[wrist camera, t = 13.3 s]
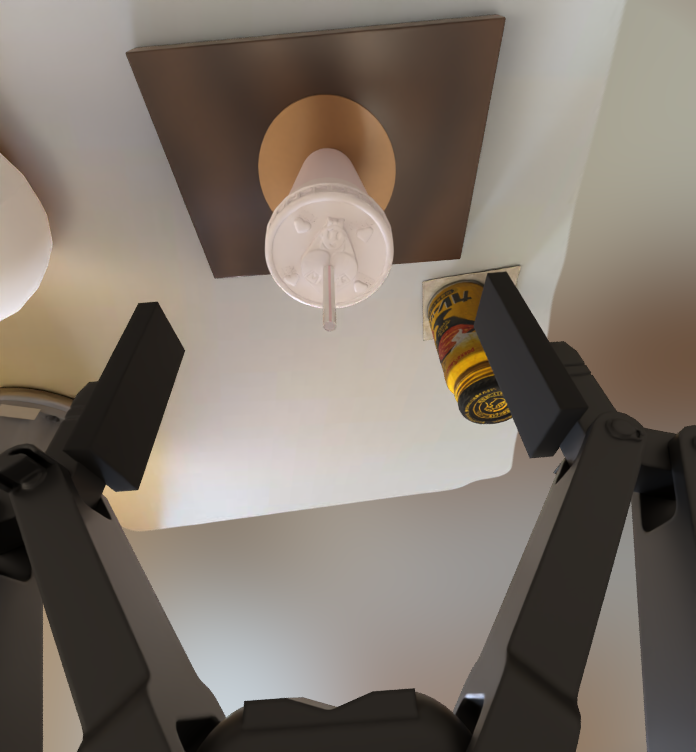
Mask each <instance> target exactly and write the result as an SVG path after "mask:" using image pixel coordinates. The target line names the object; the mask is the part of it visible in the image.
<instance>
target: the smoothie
mask: <svg viewBox="0 0 696 752" xmlns="http://www.w3.org/2000/svg"><path fill="white" fill-rule="evenodd" d="M393 255H394V247H393V237H392V231H391V225H390V223H389V221H388V219H387V217H386V215H385V213H384V211H383V210H382V208H381V207H380V206H379V205H378V204H377V203H376V202H375V201H374V199H373V198H371V197H370V196H368V194H367V192H366V190H365V188H364V186H363V184H362V182H361V180H360V178H359V176H358V174H357V172H356V170H355V168H354V166H353V164H352V162H351V161H350V160H349V158H348V157H347V156H346V155H345V154H343V153H342V152H340V151H338V150H336V149H331V148H323V149H319V150H317V151H315V152H313V153H312V154H310V155H309V156H308V157H307V158H306V160H305V161H304V163H303V165H302V167H301V169H300V172H299V174H298V176H297V178H296V180H295V182H294V184H293V187H292V189H291V191H290V193H289V195H288V196H287V197H286V198H285V199H284V200H283V201H282V202H281V203H280V204H279V205H278V206H277V208H276V209H275V210H274V212H273V214H272V216H271V218H270V220H269V223H268V225H267V231H266V238H265V257H266V262H267V266H268V269H269V271H270V273H271V275H272V277H273V279H274V280H275V282H276V283H277V284H278V286H279V287H280V288H281V289H282V290H283V291H284V292H285V293H287V294H288V295H289V296H291V297H292V298H294V299H295V300H297V301H299V302H301V303H304V304H306V305H309V306H313V307H317V308H323V328H324V329H325V330H326V331H333V330H335V328H336V308H342V307H347V306H351V305H354V304H356V303H359V302H361V301H363V300H364V299H366V298H368V297H369V296H371V295H372V294H373V293H374V292H375V291H376V290H377V289H378V288H379V287H380V286H381V285H382V284H383V282H384V281H385V279H386V278H387V276H388V274H389V272H390V269H391V266H392V262H393Z"/></svg>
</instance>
